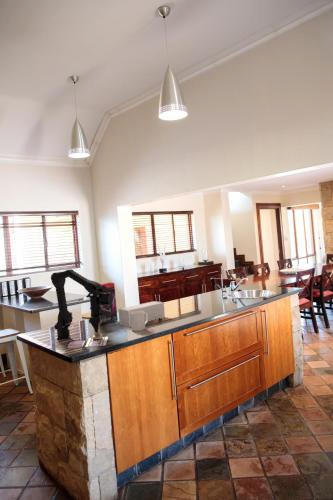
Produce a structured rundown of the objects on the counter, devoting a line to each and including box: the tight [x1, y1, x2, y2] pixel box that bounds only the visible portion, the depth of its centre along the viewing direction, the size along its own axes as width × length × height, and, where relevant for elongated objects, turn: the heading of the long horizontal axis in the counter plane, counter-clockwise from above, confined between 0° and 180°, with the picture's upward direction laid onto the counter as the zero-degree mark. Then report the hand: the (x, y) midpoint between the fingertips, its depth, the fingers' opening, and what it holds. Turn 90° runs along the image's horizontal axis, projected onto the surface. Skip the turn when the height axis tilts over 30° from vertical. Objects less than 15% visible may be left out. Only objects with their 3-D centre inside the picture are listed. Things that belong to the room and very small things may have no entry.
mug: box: [130, 311, 149, 333], centre depth 233 cm, size 12×9×11 cm
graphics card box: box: [97, 281, 119, 326], centre depth 257 cm, size 17×7×27 cm, turn 137°
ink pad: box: [67, 340, 86, 349], centre depth 205 cm, size 8×9×2 cm
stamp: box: [92, 322, 103, 340], centre depth 215 cm, size 5×5×10 cm
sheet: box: [84, 336, 109, 348], centre depth 210 cm, size 11×18×1 cm, turn 4°
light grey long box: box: [117, 300, 166, 328], centre depth 257 cm, size 32×11×11 cm, turn 134°
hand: (97, 331), depth 215 cm, fingers closed on stamp, 4 cm apart
